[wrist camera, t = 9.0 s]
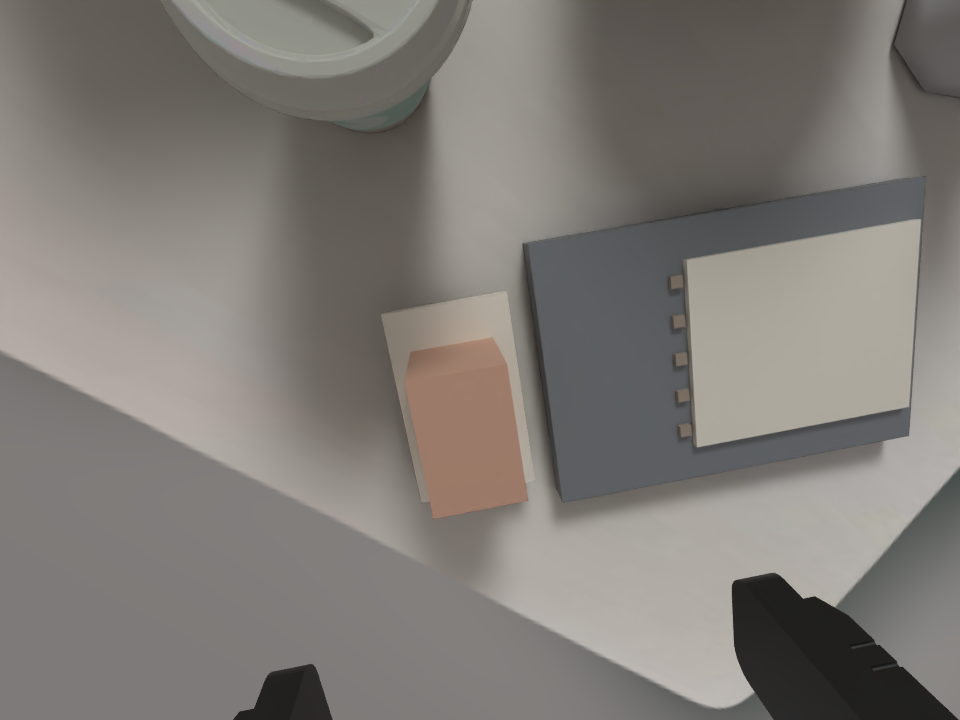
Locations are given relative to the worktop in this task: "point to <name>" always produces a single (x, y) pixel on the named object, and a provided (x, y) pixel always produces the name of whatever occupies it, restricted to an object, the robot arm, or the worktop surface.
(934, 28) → the flask
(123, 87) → the worktop surface
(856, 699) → the robot arm
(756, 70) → the worktop surface
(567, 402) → the board
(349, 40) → the coffee cup
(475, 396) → the ticket stub
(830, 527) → the worktop surface
